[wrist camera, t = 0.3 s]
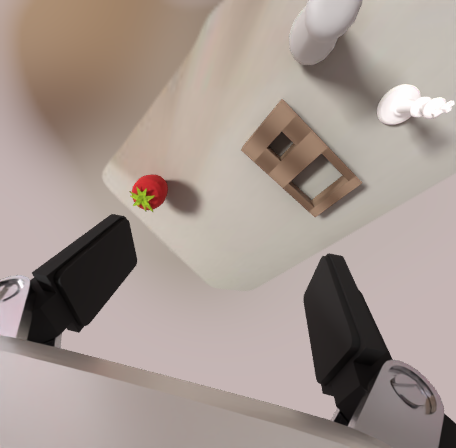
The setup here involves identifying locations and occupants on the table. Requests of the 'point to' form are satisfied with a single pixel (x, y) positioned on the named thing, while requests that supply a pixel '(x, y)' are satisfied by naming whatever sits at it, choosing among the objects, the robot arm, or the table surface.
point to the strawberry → (149, 192)
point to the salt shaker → (320, 28)
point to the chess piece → (409, 105)
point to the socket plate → (296, 158)
